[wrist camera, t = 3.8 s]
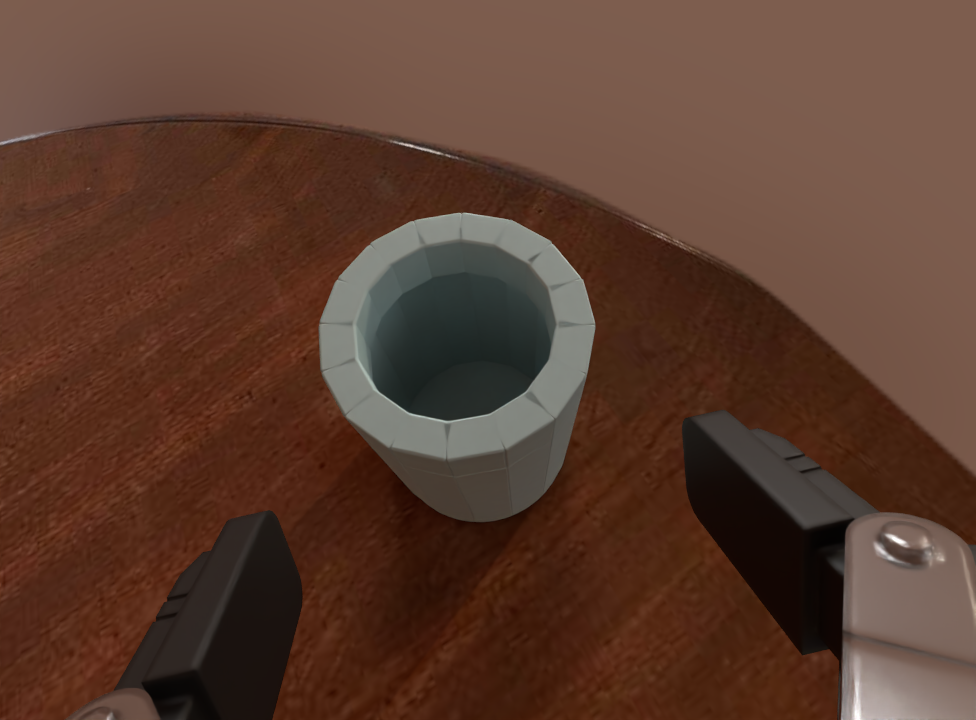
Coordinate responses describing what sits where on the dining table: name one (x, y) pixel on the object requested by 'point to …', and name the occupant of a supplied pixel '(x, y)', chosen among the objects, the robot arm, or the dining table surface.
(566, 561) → the dining table surface
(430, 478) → the cylindrical container
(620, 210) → the dining table surface
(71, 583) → the dining table surface
